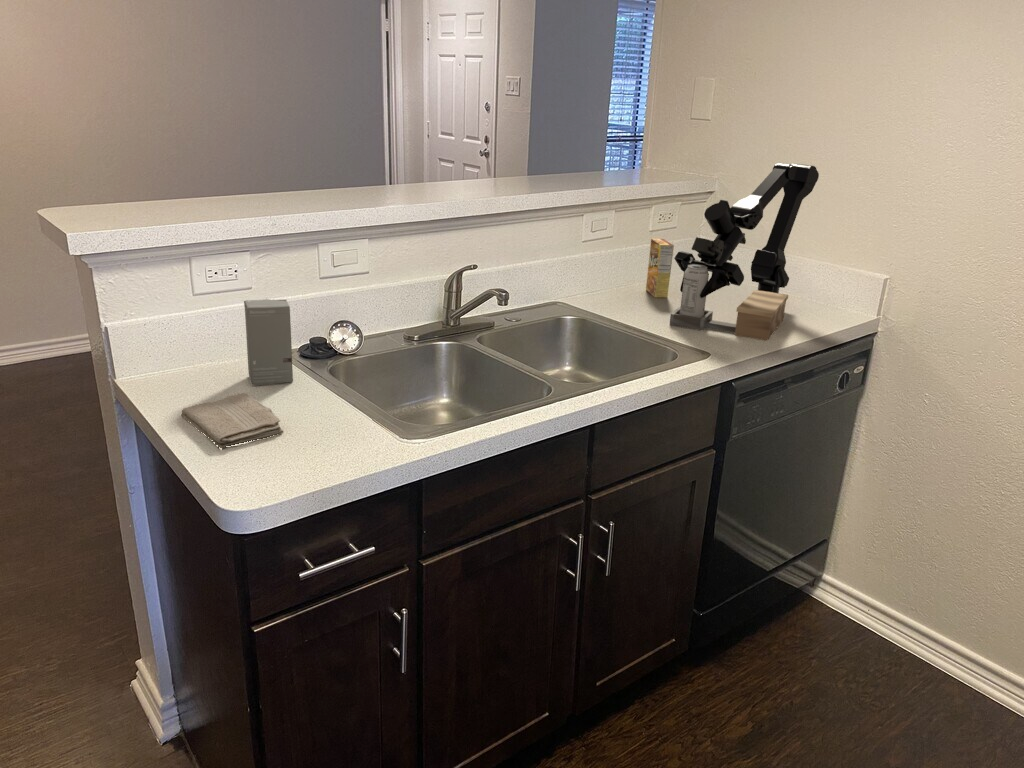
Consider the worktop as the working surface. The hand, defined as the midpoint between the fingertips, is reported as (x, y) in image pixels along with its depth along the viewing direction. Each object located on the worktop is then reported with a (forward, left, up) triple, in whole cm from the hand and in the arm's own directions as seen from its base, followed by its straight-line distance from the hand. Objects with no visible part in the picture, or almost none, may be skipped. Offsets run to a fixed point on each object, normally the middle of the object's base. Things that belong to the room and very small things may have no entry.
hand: (690, 294), depth 202 cm
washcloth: (+105, -51, -9) cm, 117 cm away
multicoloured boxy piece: (-8, +9, -8) cm, 14 cm away
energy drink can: (-1, +1, -8) cm, 8 cm away
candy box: (-25, -16, -8) cm, 31 cm away
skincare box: (+85, -60, -8) cm, 104 cm away
